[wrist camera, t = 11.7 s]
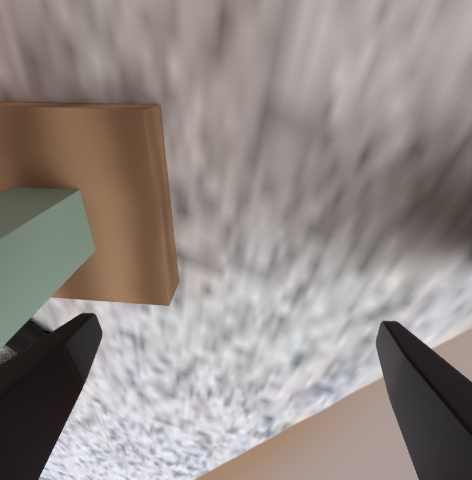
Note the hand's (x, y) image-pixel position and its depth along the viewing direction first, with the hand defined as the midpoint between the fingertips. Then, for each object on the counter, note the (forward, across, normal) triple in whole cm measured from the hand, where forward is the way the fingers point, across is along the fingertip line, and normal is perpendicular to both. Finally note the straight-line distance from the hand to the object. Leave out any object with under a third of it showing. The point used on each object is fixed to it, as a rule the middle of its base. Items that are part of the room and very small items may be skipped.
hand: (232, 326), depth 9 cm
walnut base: (+13, +13, +1) cm, 18 cm away
